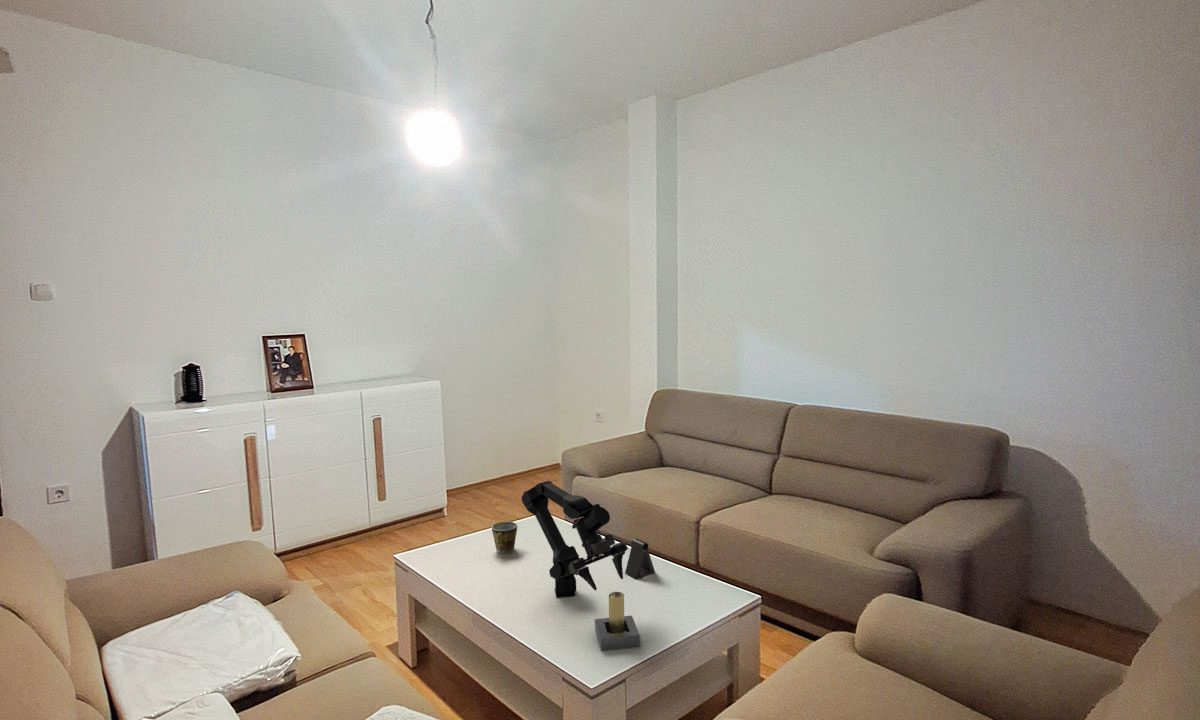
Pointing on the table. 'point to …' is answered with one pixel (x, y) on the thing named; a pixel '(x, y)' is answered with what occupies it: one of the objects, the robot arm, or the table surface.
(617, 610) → the brass sleeve
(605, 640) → the jig block
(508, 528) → the ceramic cup
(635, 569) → the phone stand
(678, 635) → the table surface
